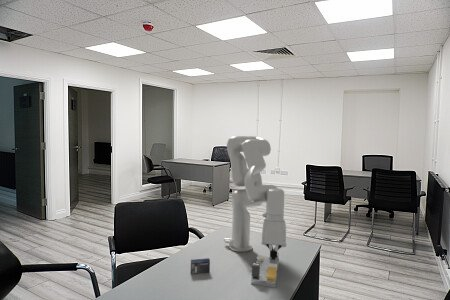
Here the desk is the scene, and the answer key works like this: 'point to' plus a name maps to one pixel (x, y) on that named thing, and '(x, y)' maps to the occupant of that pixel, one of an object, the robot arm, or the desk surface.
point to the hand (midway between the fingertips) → (273, 258)
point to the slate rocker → (274, 260)
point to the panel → (263, 273)
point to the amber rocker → (271, 271)
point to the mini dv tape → (200, 266)
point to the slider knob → (256, 269)
